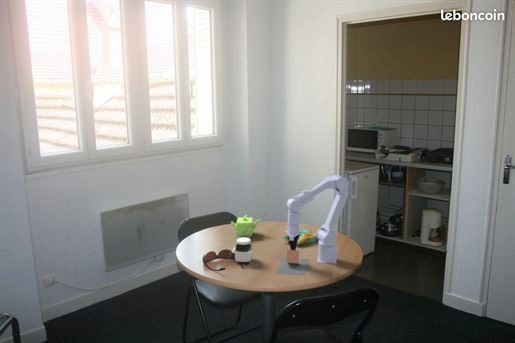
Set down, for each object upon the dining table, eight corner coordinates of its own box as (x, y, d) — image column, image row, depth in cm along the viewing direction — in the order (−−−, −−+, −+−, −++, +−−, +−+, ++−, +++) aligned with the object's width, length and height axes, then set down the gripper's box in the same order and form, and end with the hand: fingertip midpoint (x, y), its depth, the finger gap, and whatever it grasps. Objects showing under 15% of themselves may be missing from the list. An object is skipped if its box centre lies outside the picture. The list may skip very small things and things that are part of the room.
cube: (300, 251, 219) (299, 250, 214) (299, 264, 218) (298, 263, 212) (288, 250, 221) (287, 249, 215) (287, 263, 219) (286, 262, 213)
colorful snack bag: (321, 232, 252) (297, 240, 239) (321, 240, 253) (297, 248, 240) (306, 227, 261) (282, 235, 248) (306, 235, 262) (282, 243, 249)
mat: (309, 260, 224) (309, 259, 224) (304, 276, 204) (304, 275, 204) (282, 258, 227) (282, 257, 227) (275, 274, 208) (275, 273, 207)
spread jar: (248, 266, 217) (247, 243, 215) (226, 264, 220) (226, 241, 218) (255, 257, 229) (254, 235, 226) (234, 255, 232) (233, 234, 229)
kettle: (246, 230, 272) (245, 212, 270) (262, 235, 262) (262, 217, 260) (227, 235, 262) (227, 217, 260) (244, 241, 252) (243, 222, 250)
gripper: (287, 218, 222) (287, 244, 224) (283, 227, 208) (282, 254, 210) (301, 219, 220) (301, 245, 223) (297, 228, 206) (297, 255, 209)
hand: (293, 249), depth 216 cm, fingers closed
